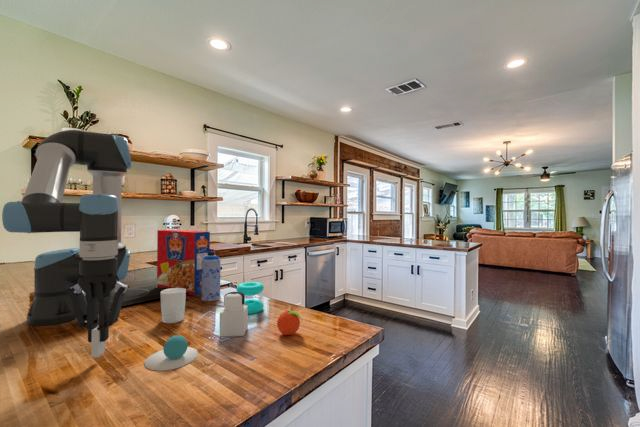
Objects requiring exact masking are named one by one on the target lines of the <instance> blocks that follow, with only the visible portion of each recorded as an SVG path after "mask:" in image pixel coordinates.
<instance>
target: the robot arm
mask: <svg viewBox="0 0 640 427" xmlns="http://www.w3.org/2000/svg"><path fill="white" fill-rule="evenodd" d="M34 153H35V158H36V162H35V166H34V168H33V170H32V172H31V175H30V177H29V181H28V183H27V186H26V189H25V191H24V193H23V196H22V199H21V200H17V201H9V202H6V203H5V204H4V205H3V207H2V213H1V214H2V215H1V221H2V226H3V228H4V229H5V231H7V232H9V233H22V234H23V233H24V234H25V233H26V234H31V233H33V234H36V233H37V234H39V233H40V234H42V233H71V232H72V233H74V232H77V233H78V232H79V247H74V248H65V249H64V248H63V249H57V250H52V251H48V252H43V253H40V254H38V255H37V256H36V257H35V259H34V267H33V270H34V290H33V291H34V295H33V297H34V299H33V300H32V303H31V306H30V307H29V310H28V313H27V315H26V324H27V325H29V326H46V325H55V324H60V323H65V322H70V321H73V320H75V319H76V321H77V325H78V327H79V328H86V329H87V341H88V343H91V349H90V350H91V351H90V352H91V358H99V357H100V356H102V355H103V354H104V353H105V351H106V341H107V340H108V339H109V330H110V329H109V327H112V326H113V325H114V324H116V323H117V322H118V321H119V317H120V313H121V310H122V309H121V308H122V306H123V302H124V299H125V294H126V292H128V290H129V289H130V285H129V284H127V283H126V284H124V283H122V282H120V281H123V280H125V279H126V277H127V276H128V273H129V272H128V271H129V267H130V261H131V260H130V257H131V250H130V249H128V248H127V245H126V244H125V243H124V242H123V241H122V207H123V206H122V199H123V198H122V197H123V196H122V193H123V192H122V191H123V190H122V189H123V188H122V186H123V185H122V184H123V177H125V175H126V174H128V173H127V172H128V170H129V169H131V168H132V159H131V153H130V146H129V142H128V139H127V138H126V137H125V136H121V135H116V134H112V133H111V134H109V133H102V132H93V131H92V132H91V131H85V130H79V129H78V130H77V129H67V130H62V131H57V132H56V133H53V134H51V135H49V136H47V137H45V138H44V139H43V140H42V141H41V142H40V143H39V144H38V145H37V147H36V149H35V152H34ZM74 165H80V166H87V169H86V170H87V172H88V173H89V174H90V175H91V176H92V193H84V194H82V195H80V198H79V202H63V198H64V194H65V190H66V185H67V180H68V176H69V172H70V169H71V168H72V167H73V166H74ZM114 289H115V290H114ZM113 291H114V292H115V294H114V296H113V300H112V303H111V298H112V292H113ZM84 294H85V295H84Z"/></svg>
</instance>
